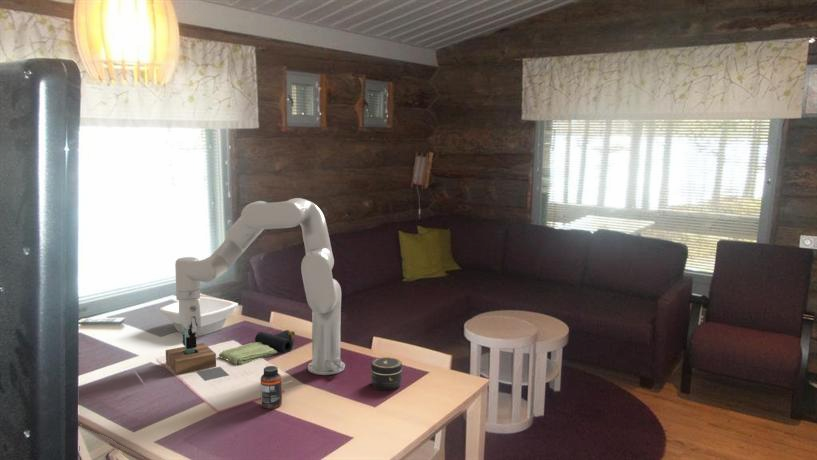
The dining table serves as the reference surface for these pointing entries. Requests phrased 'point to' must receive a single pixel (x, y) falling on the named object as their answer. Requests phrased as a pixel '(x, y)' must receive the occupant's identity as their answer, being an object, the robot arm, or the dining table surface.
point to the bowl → (203, 314)
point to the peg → (187, 351)
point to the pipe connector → (277, 340)
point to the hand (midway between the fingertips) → (189, 345)
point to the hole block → (190, 359)
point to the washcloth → (247, 353)
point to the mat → (212, 373)
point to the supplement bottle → (271, 388)
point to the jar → (386, 373)
